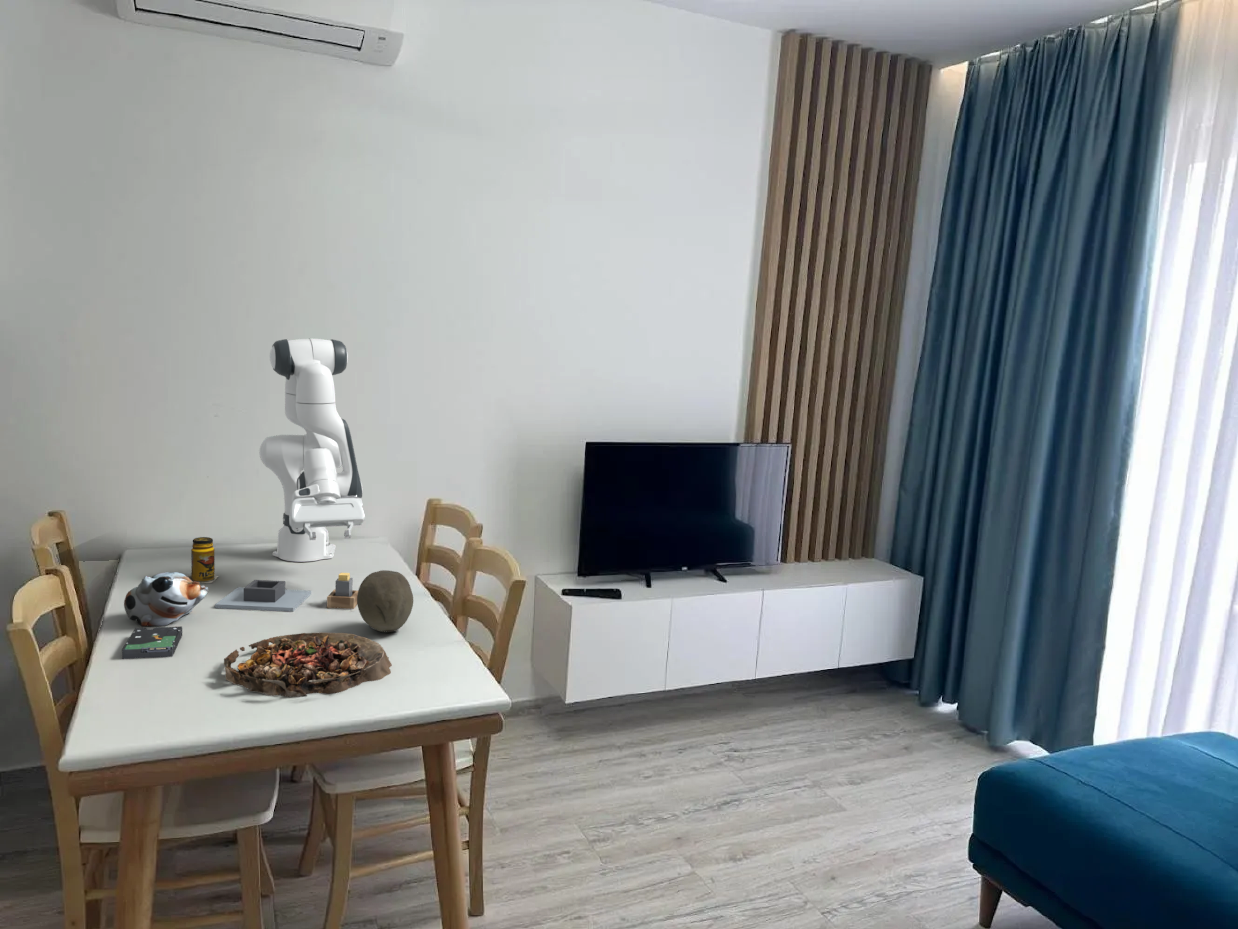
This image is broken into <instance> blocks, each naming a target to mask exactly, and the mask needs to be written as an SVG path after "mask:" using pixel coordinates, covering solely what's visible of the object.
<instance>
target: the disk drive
mask: <svg viewBox="0 0 1238 929" xmlns="http://www.w3.org/2000/svg"><path fill="white" fill-rule="evenodd" d="M182 637H183V626H155V627H154V628H151V629H149V628H146V627H135V628H134V629H133V630H132V633H131V635H130V636H129V638H128V639H127V641H126V642H125V644H124V645H123V648H122V650H121V657H122V658H121V659H122V660H128V659H129V660H131V659H132V660H133V659H152V658H153V659H154V658H155V659H156V658H158V659H159V658H172V657H173V656H174V655H175V653H176V649H177V648H178V646H179V644H180V641H181V639H182Z"/></svg>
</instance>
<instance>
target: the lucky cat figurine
mask: <svg viewBox="0 0 1238 929" xmlns="http://www.w3.org/2000/svg"><path fill="white" fill-rule="evenodd" d="M208 592H209V587H208V586H205V585H201V583H199V582H195V581H194V582H192V581H191V580H190V579H189V578H188V577H187V575H186V574H184V573H181V572H177V571H175V572H171V571H170V572H167V571H166V572H160V573H156V574H154V575H152V576H151V577H150V576H148V575H145V576H144V577H143V578H142V579H141V582H140V583H139V584H138V585H137V586H135V587H133V588H132V589H130V590H129V591H128V592H127V593H126V595H125V597H124V601H123V608H124V611H125V613H126V616H128V619H129V620H131V621H136V623H138V625H140V626H141V627H167V626H168V625H169V624H171V623H173V622H175V621H178V620H179V619H180V618H181V617H184V616H185V615H187V614H189V613H192V612H193V609H194V608H195V607H196V606H197V605H198V604H199V603H200V602H202V600H204V599H205V597H206V596H207V594H208Z"/></svg>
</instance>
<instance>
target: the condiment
mask: <svg viewBox="0 0 1238 929" xmlns="http://www.w3.org/2000/svg"><path fill="white" fill-rule="evenodd" d="M213 541H214V540H213V538H212V537H210V536H209V537H208V536H199V537H195V538H193V539H192V545H191V546H192V548H191V550H190V552H191V553H190V554H191V558H190V559H191V560H190V561H191V562H190V563H191V565H190V566H191V571H190V572H191V573H190V574H187V575H186V577H188V578H189V579H190V580H191V581H192V582H194V581H195V582H199V583H200V584H211V583H212V584H213V583H214V582H215V581H216V579H218V577H219V575H216V573H215V570H216V569H215V565H216V564H215V547H214V543H213Z"/></svg>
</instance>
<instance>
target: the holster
mask: <svg viewBox="0 0 1238 929" xmlns="http://www.w3.org/2000/svg"><path fill="white" fill-rule="evenodd" d="M358 590H359V589H358ZM358 590H357V589H356V590H353V589H352V596H351V597H344V596H335V588H334V589H333V590H332V591H331V592H330V593H329V594H328V596H326V608H327V609H346V610H354V609H355V608H356V607H358V605H357V594H358Z"/></svg>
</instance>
